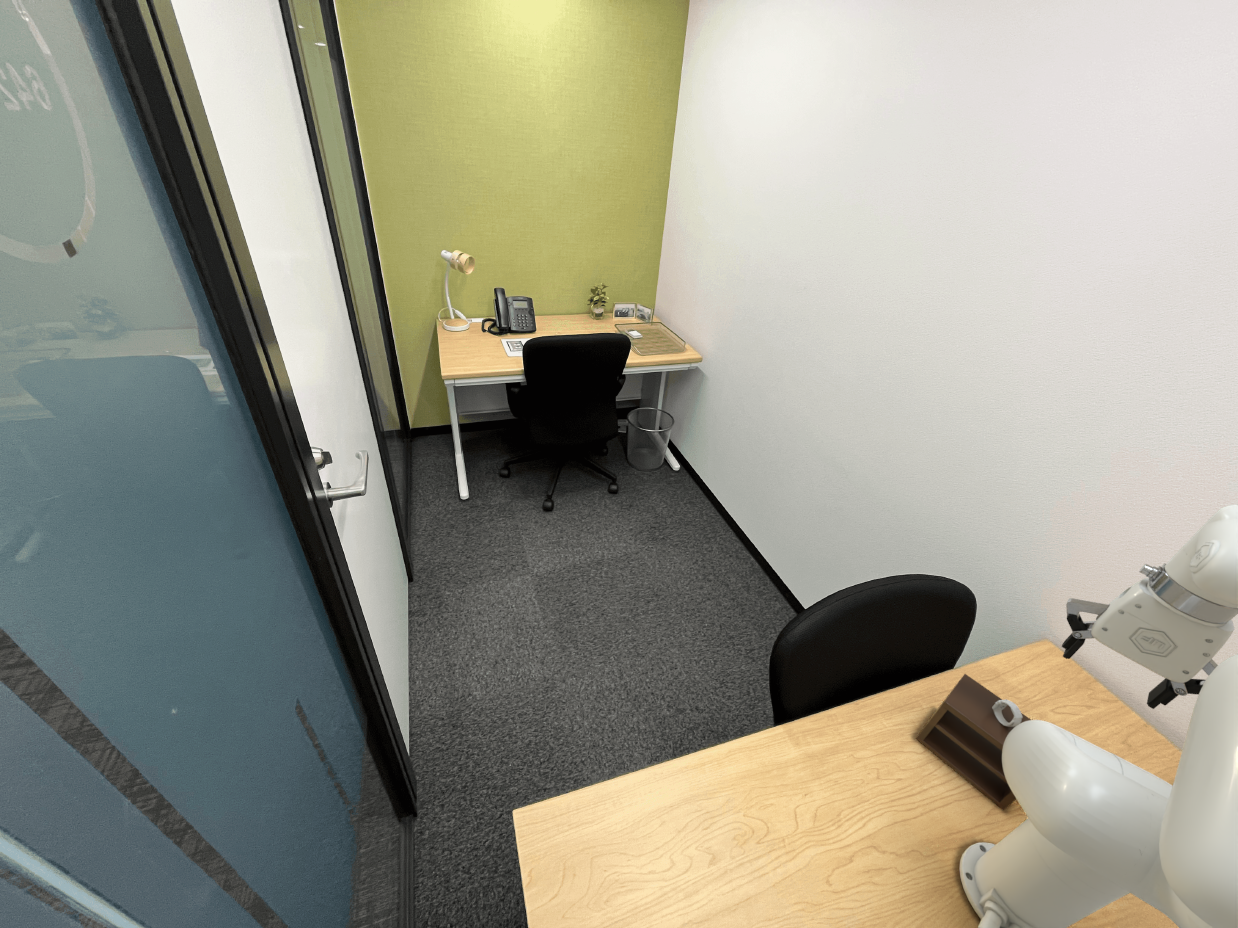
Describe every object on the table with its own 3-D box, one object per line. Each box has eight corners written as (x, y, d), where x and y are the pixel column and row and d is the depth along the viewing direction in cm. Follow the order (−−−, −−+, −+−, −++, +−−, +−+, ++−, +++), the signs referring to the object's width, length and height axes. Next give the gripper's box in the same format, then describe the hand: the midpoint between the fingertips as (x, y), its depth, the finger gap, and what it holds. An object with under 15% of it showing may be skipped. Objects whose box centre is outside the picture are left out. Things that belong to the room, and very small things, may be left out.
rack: (1003, 810, 79) (1043, 774, 73) (915, 738, 88) (944, 701, 82) (1020, 774, 85) (1059, 739, 78) (936, 710, 93) (965, 673, 87)
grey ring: (1016, 730, 79) (1029, 716, 77) (1004, 732, 78) (1017, 717, 76) (998, 709, 82) (1010, 695, 80) (987, 710, 81) (999, 696, 79)
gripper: (1102, 567, 65) (1031, 649, 74) (1297, 658, 54) (1186, 740, 64) (1111, 544, 69) (1043, 624, 78) (1293, 624, 59) (1189, 705, 68)
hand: (1107, 676), depth 71 cm, fingers open, 9 cm apart
